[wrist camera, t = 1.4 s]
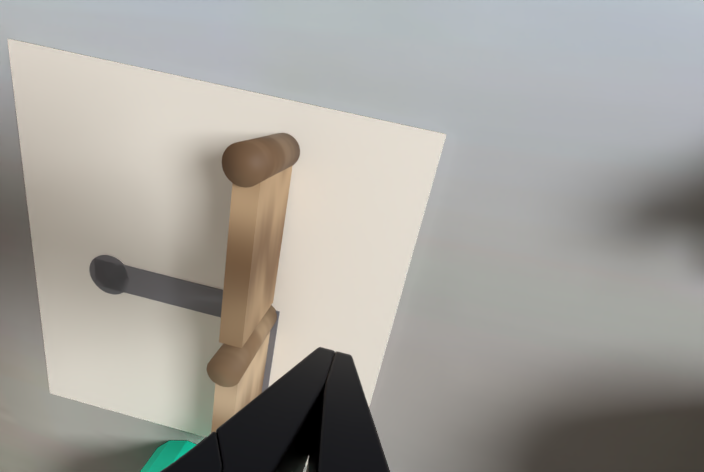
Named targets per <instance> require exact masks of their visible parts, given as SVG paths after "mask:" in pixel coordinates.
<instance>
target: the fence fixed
mask: <svg viewBox="0 0 704 472" xmlns="http://www.w3.org/2000/svg"><path fill="white" fill-rule="evenodd" d="M276 320H277V314H276V310H275V308H274V307H273V306H272V305H271V306H270V308H269V309H268V311H267V312H266V314H265V315H264V316H263V318H262V319H261V321H260V322H259V324H258V325H257V327H256V328H255V330H254V331H253V333H252V334H251V336H250V337H249V338H248V340H247V341H246V343H245V344H244V346H243V347H242V348H238V347H235V346H231V345H227V344H222V346H221V347H220V348H219V350H218V351H217V352H216V354H215V355H214V356H213V357H212V359H211V360H210V361H209V363H208V364H207V374H208V376H209V378H210V379H211V380H212V381H213V382H214V383H215V393H214V405H213V417H212V429H211V433H212V432H216V429H217V428H219V427H220V426H221V425H222V424H223V423H225V422H226V421H227V420H228V419H230V418H231V417H232V416H233V415H235V414H236V413H237V412H238V411H240V410H241V409H242V408H243V407H245V406H246V405H247V404H248V403H250V402H251V401H252V400H253V399H255V398H256V397H257V396H258V395H260V394H261V393H262V386H263V379H264V372H265V365H266V358H267V351H268V344H269V337H270V330H271V329H272V327H273V326H274V324H275V322H276Z"/></svg>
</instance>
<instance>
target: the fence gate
mask: <svg viewBox="0 0 704 472" xmlns="http://www.w3.org/2000/svg"><path fill="white" fill-rule="evenodd" d="M299 156H300V147H299V144H298V142H297V141H296V139H295V138H294V137H293V136H291V135H290V134H287V133H277V134H272V135H268V136H263V137H259V138H254V139H250V140H245V141H240V142H236V143H233V144H231V145H230V146H228V147H227V148H226V150H225V151H224V153H223V156H222V168H223V171H224V173H225V175H226V177H227V178H228V179H229V180H230V181H231V182H232V194H231V205H230V217H229V229H228V241H227V252H226V264H225V276H224V288H223V299H222V311H221V323H220V335H219V342H220V343H223V344H227V345H231V346H235V347H238V348H242V347H243V346H244V344H245V343H246V341H247V340H248V338H249V337H250V336H251V334H252V333H253V331H254V330H255V328H256V327H257V325H258V324H259V322H260V321H261V319H262V318H263V316H264V315H265V314H266V312H267V311H268V309H269V308H270V306H271V305H272V303H273V300H274V293H275V286H276V279H277V272H278V265H279V258H280V251H281V244H282V237H283V230H284V223H285V215H286V208H287V201H288V194H289V187H290V180H291V173H292V166H293V165H294V164H295V163H296V162H297V161H298V159H299Z"/></svg>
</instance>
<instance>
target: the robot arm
mask: <svg viewBox="0 0 704 472" xmlns="http://www.w3.org/2000/svg"><path fill="white" fill-rule="evenodd" d="M308 456H309V458H308ZM307 459H308V464H307V470H306V472H390V470H389V467H388V464H387V461H386V458H385V455H384V452H383V449H382V446H381V443H380V440H379V437H378V434H377V431H376V427H375V424H374V421H373V418H372V415H371V412H370V409H369V406H368V403H367V400H366V397H365V394H364V391H363V388H362V385H361V382H360V379H359V376H358V373H357V370H356V367H355V363H354V360H353V358H352V356H351V355H350V354H346V353H342V352H338V351H336V352H335V351H334V350H331V349H327V348H323V347H318V348H317V349H315V350H314V351H313V352H312V353H310V354H309V355H308V356H307V357H305V358H304V359H303V360H302V361H301V362H299V363H298V364H297V365H296V366H294V367H293V368H292V369H291V370H289V371H288V372H287V373H286V374H284V375H283V376H282V377H281V378H279V379H278V380H277V381H276V382H274V383H273V384H272V385H271V386H269V387H268V388H267V389H266V390H264V391H263V392H262V393H261V394H260V395H258V396H257V397H256V398H255V399H253V400H252V401H251V402H250V403H248V404H247V405H246V406H245V407H243V408H242V409H241V410H240V411H238V412H237V413H236V414H235V415H233V416H232V417H231V418H230V419H228V420H227V421H226V422H225V423H223V424H222V425H221V426H220V427H219V428H217V429H216V432H212V433H211V434H209V435H208V436H207V437H206V438H205V439H203V440H202V441H201V442H200V443H198V444H197V445H196V446H194V447H193V448H192V449H191V450H189V451H188V452H187V453H185V454H184V455H183V456H181V457H180V458H179V459H177V460H176V461H175V462H173V463H172V464H170V465H169V466H168V467H166V468H165V469H163V470H162V471H160V472H303V469H304V467H305V464H306V462H307Z"/></svg>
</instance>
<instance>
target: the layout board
mask: <svg viewBox="0 0 704 472" xmlns="http://www.w3.org/2000/svg"><path fill="white" fill-rule="evenodd" d="M7 40H8V48H9V56H10V65H11V73H12V81H13V90H14V98H15V106H16V115H17V123H18V131H19V140H20V148H21V156H22V165H23V173H24V181H25V189H26V198H27V206H28V214H29V223H30V231H31V239H32V248H33V256H34V264H35V273H36V281H37V289H38V298H39V306H40V314H41V323H42V331H43V339H44V347H45V356H46V364H47V372H48V381H49V389H50V393H51V394H55V395H58V396H62V397H65V398H69V399H72V400H76V401H79V402H83V403H86V404H90V405H94V406H97V407H101V408H104V409H108V410H111V411H115V412H118V413H122V414H125V415H129V416H132V417H136V418H140V419H143V420H147V421H150V422H154V423H157V424H161V425H164V426H168V427H171V428H175V429H178V430H182V431H186V432H189V433H193V434H196V435H200V436H203V437H207V436H208V435H209V434H211V429H212V417H213V405H214V393H215V383H214V382H213V381H212V380H211V379H210V378H209V376H208V374H207V364H208V363H209V361H210V360H211V359H212V357H213V356H214V355H215V354H216V352H217V351H218V350H219V348H220V347H221V346H222V344H223V343H220V342H219V335H220V323H221V311H222V299H223V288H224V276H225V264H226V252H227V241H228V229H229V217H230V205H231V194H232V182H231V181H230V180H229V179H228V178H227V177H226V175H225V173H224V171H223V168H222V156H223V153H224V151H225V150H226V148H227V147H228V146H230V145H231V144H233V143H236V142H240V141H245V140H250V139H254V138H259V137H263V136H268V135H272V134H277V133H287V134H290V135H291V136H293V137H294V138H295V139H296V141H297V142H298V144H299V147H300V156H299V159H298V161H297V162H296V163H295V164H294V165H293V166H292V173H291V180H290V187H289V194H288V201H287V208H286V215H285V223H284V230H283V237H282V244H281V251H280V258H279V265H278V272H277V279H276V286H275V293H274V300H273V303H272V306H273V307H274V308H275V310H276V314H277V320H276V322H275V324H274V326H273V327H272V329H271V330H270V337H269V344H268V351H267V358H266V365H265V372H264V379H263V386H262V392H263V391H264V390H266V389H267V388H268V387H269V386H271V385H272V384H273V383H274V382H276V381H277V380H278V379H279V378H281V377H282V376H283V375H284V374H286V373H287V372H288V371H289V370H291V369H292V368H293V367H294V366H296V365H297V364H298V363H299V362H301V361H302V360H303V359H304V358H305V357H307V356H308V355H309V354H310V353H312V352H313V351H314V350H315V349H317V348H318V347H323V348H327V349H331V350H334V351H335V352H336V351H338V352H342V353H346V354H350V355H351V356H352V358H353V360H354V363H355V367H356V370H357V373H358V376H359V379H360V382H361V385H362V388H363V391H364V394H365V397H366V400H367V403H368V406H370V403H371V399H372V396H373V392H374V389H375V385H376V382H377V378H378V375H379V371H380V367H381V364H382V360H383V357H384V353H385V350H386V346H387V343H388V339H389V336H390V332H391V329H392V325H393V322H394V318H395V315H396V311H397V307H398V304H399V300H400V297H401V293H402V290H403V286H404V283H405V279H406V276H407V272H408V269H409V265H410V262H411V258H412V254H413V251H414V247H415V244H416V240H417V237H418V233H419V230H420V226H421V223H422V219H423V216H424V212H425V209H426V205H427V202H428V198H429V194H430V191H431V187H432V184H433V180H434V177H435V173H436V170H437V166H438V163H439V159H440V156H441V152H442V149H443V145H444V141H445V138H446V134H444V133H439V132H435V131H430V130H426V129H421V128H416V127H412V126H407V125H403V124H398V123H394V122H389V121H384V120H380V119H375V118H371V117H366V116H361V115H357V114H352V113H348V112H343V111H339V110H334V109H329V108H325V107H320V106H316V105H311V104H306V103H302V102H297V101H293V100H288V99H284V98H279V97H274V96H270V95H265V94H261V93H256V92H251V91H247V90H242V89H238V88H233V87H229V86H224V85H219V84H215V83H210V82H206V81H201V80H196V79H192V78H187V77H183V76H178V75H174V74H169V73H164V72H160V71H155V70H151V69H146V68H141V67H137V66H132V65H128V64H123V63H119V62H114V61H109V60H105V59H100V58H96V57H91V56H86V55H82V54H77V53H73V52H68V51H64V50H59V49H54V48H50V47H45V46H41V45H36V44H31V43H27V42H22V41H18V40H12V39H7ZM308 458H309V456H308ZM307 464H308V459H307V462H306V464H305V465H306V466H307Z"/></svg>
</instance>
